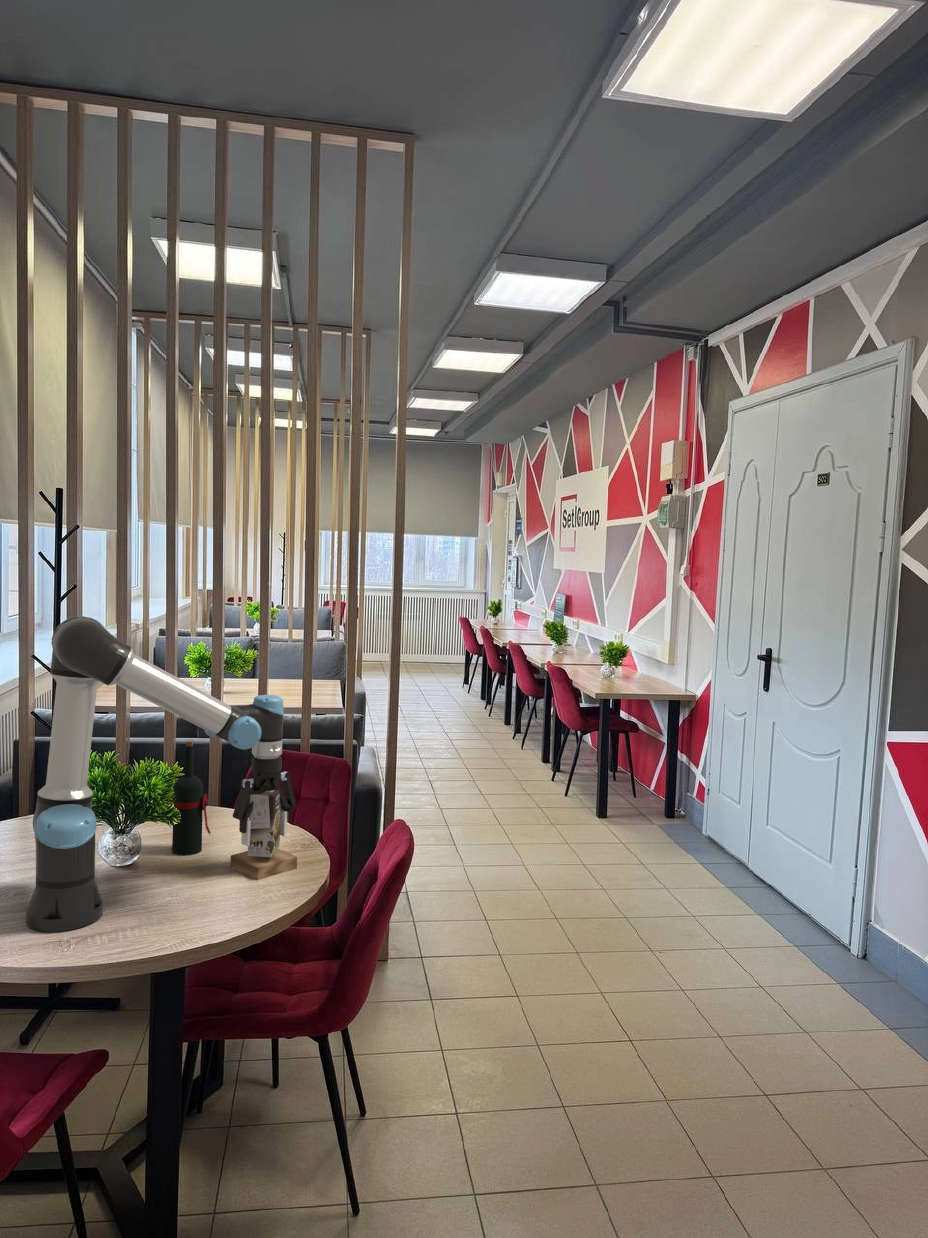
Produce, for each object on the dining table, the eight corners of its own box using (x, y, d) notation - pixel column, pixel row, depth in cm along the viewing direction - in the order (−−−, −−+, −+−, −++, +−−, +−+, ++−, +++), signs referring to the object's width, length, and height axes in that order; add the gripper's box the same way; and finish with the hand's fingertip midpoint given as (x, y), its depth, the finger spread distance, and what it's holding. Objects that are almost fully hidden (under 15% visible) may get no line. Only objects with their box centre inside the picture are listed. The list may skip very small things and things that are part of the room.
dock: (257, 880, 209) (258, 868, 209) (230, 866, 217) (230, 855, 216) (296, 868, 218) (297, 856, 218) (268, 856, 226) (269, 845, 225)
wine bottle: (207, 856, 223) (210, 745, 221) (167, 855, 223) (170, 744, 221) (213, 846, 231) (216, 738, 229) (175, 845, 230) (178, 737, 228)
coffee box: (272, 858, 212) (274, 795, 211) (246, 856, 212) (248, 794, 211) (280, 845, 221) (282, 785, 220) (256, 844, 222) (258, 784, 220)
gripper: (236, 765, 204) (234, 854, 205) (311, 752, 221) (308, 834, 223) (219, 759, 209) (216, 846, 210) (294, 747, 226) (291, 827, 228)
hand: (264, 839), depth 217 cm, fingers closed on coffee box, 11 cm apart
